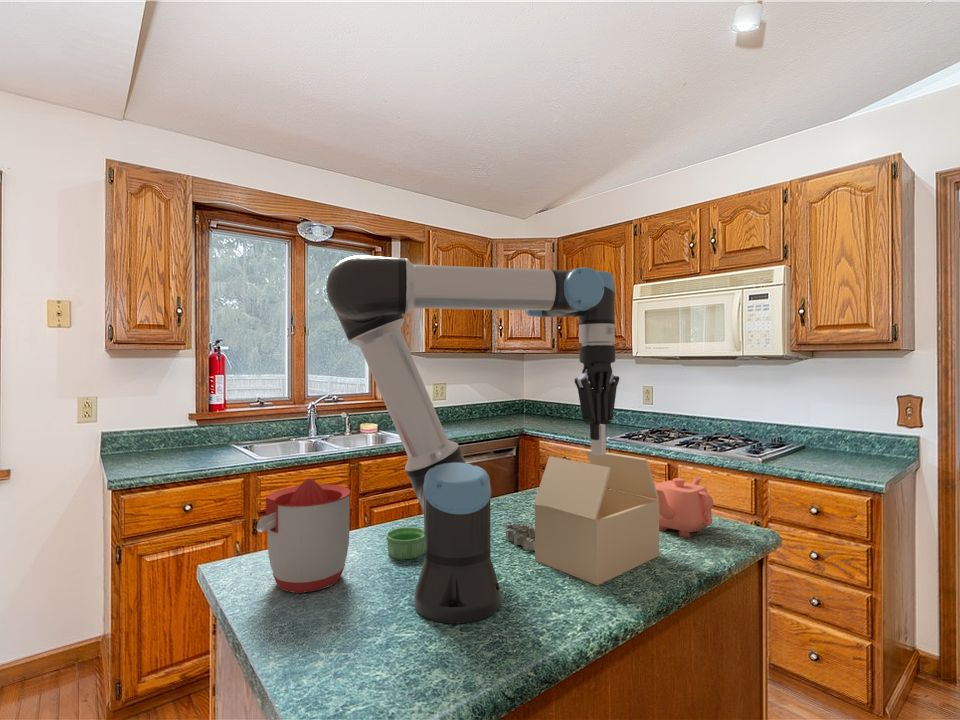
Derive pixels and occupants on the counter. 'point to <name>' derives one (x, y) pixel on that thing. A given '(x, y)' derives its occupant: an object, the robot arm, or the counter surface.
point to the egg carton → (521, 535)
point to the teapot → (683, 506)
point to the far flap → (627, 474)
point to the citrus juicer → (307, 535)
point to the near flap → (573, 487)
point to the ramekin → (405, 542)
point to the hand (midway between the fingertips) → (598, 454)
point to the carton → (599, 537)
